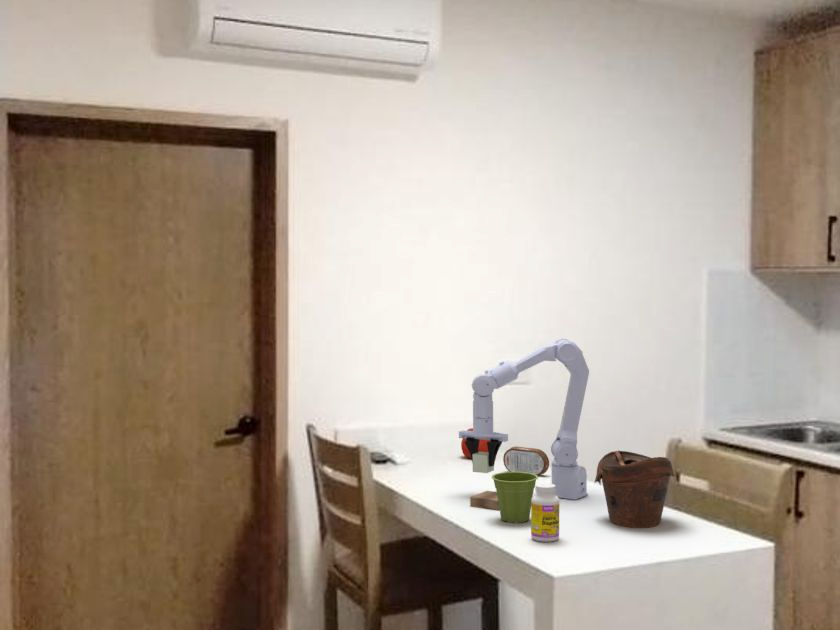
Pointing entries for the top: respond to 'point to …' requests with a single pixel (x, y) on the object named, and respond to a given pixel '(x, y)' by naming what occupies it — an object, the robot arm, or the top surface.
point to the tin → (526, 460)
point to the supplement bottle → (545, 513)
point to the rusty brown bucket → (634, 487)
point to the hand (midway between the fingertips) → (483, 465)
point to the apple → (481, 448)
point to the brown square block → (485, 500)
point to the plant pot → (514, 495)
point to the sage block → (481, 462)
